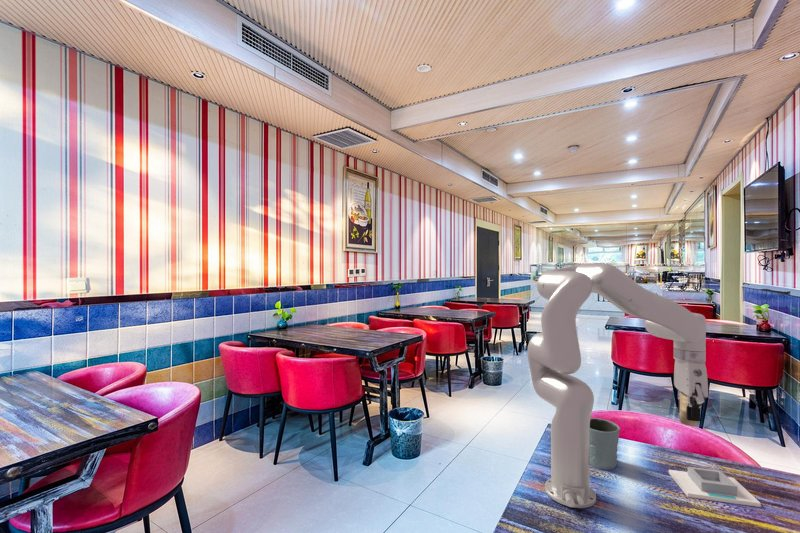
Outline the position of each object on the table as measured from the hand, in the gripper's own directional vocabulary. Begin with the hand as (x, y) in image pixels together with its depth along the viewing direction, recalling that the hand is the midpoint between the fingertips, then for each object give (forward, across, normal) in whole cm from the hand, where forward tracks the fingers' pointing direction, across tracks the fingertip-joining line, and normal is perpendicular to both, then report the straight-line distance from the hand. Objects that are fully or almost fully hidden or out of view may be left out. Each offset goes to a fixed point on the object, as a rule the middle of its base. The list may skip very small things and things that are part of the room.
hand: (688, 416), depth 111 cm
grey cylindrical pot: (+18, +1, +23) cm, 29 cm away
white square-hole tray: (+17, -7, -3) cm, 19 cm away
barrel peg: (+2, 0, 0) cm, 2 cm away
